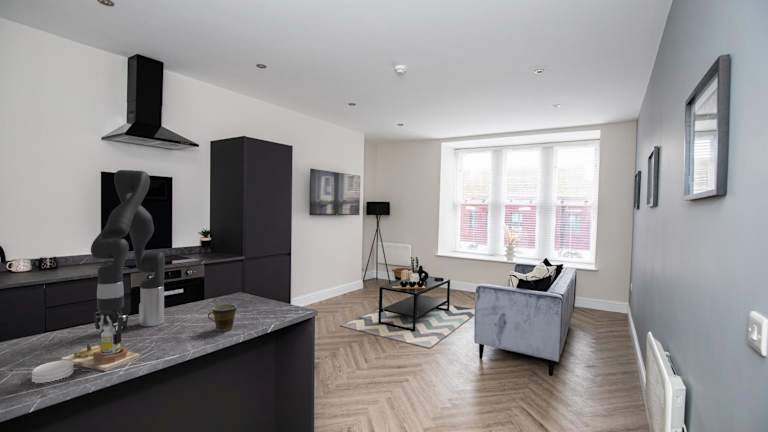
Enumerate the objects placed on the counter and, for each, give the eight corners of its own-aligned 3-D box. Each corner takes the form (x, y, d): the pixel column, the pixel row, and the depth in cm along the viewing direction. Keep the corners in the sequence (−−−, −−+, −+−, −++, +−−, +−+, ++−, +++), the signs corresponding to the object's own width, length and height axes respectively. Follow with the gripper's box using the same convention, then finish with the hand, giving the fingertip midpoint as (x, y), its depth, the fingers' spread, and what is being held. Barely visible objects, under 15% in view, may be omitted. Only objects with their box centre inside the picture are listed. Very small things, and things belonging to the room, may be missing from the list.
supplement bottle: (117, 347, 132) (117, 321, 132) (122, 351, 129) (122, 324, 128) (99, 352, 128) (99, 324, 128) (103, 356, 125) (103, 328, 124)
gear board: (60, 361, 128) (60, 348, 127) (97, 348, 139) (96, 336, 139) (105, 371, 121) (105, 357, 121) (139, 357, 132) (139, 344, 132)
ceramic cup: (227, 324, 170) (227, 302, 169) (241, 328, 165) (241, 306, 164) (201, 332, 159) (201, 309, 158) (215, 336, 153) (215, 313, 153)
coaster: (28, 387, 110) (28, 376, 110) (34, 375, 118) (34, 364, 118) (72, 378, 116) (71, 368, 116) (75, 367, 124) (74, 357, 124)
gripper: (84, 295, 126) (85, 343, 127) (114, 299, 122) (114, 349, 122) (107, 290, 134) (107, 336, 134) (135, 294, 129) (136, 341, 130)
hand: (111, 342), depth 128 cm, fingers closed on supplement bottle, 5 cm apart
